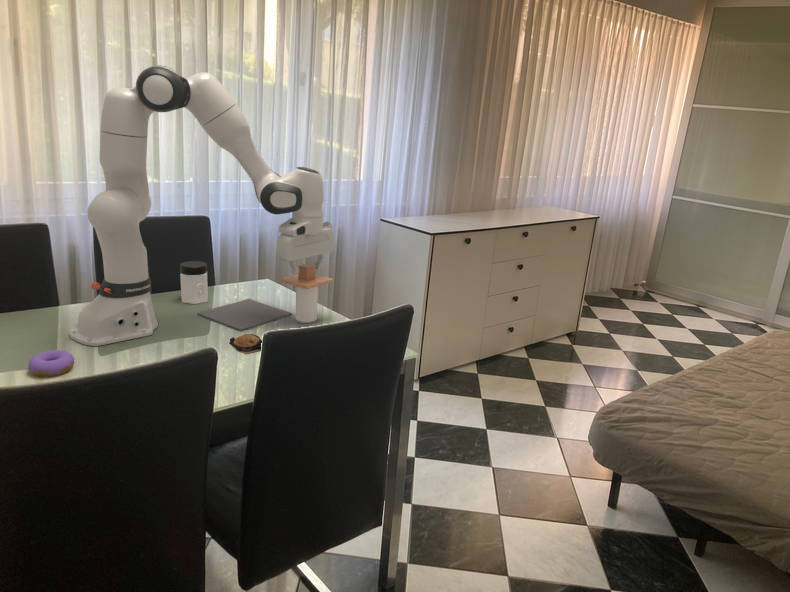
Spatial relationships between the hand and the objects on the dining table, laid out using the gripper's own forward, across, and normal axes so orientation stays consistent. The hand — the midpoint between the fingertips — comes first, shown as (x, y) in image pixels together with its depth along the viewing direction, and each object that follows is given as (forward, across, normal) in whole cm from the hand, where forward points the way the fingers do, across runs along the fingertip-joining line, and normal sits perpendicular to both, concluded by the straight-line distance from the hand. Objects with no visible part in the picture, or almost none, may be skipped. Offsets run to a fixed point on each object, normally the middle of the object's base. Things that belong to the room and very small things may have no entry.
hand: (306, 271), depth 180 cm
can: (+15, 0, 0) cm, 15 cm away
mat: (+15, +10, -16) cm, 24 cm away
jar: (+16, +12, -38) cm, 43 cm away
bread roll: (+16, +25, +3) cm, 30 cm away
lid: (+3, 0, 0) cm, 3 cm away
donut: (+16, +66, -18) cm, 70 cm away
